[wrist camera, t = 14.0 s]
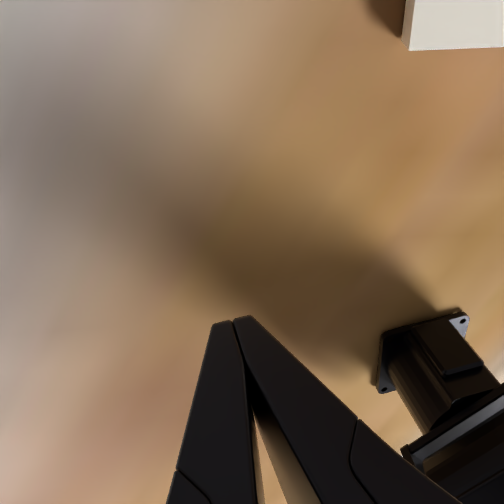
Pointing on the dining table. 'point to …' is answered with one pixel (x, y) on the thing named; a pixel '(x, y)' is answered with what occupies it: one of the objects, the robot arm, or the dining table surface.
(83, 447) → the dining table surface
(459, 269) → the dining table surface
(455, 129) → the dining table surface
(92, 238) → the dining table surface
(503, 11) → the domino head
